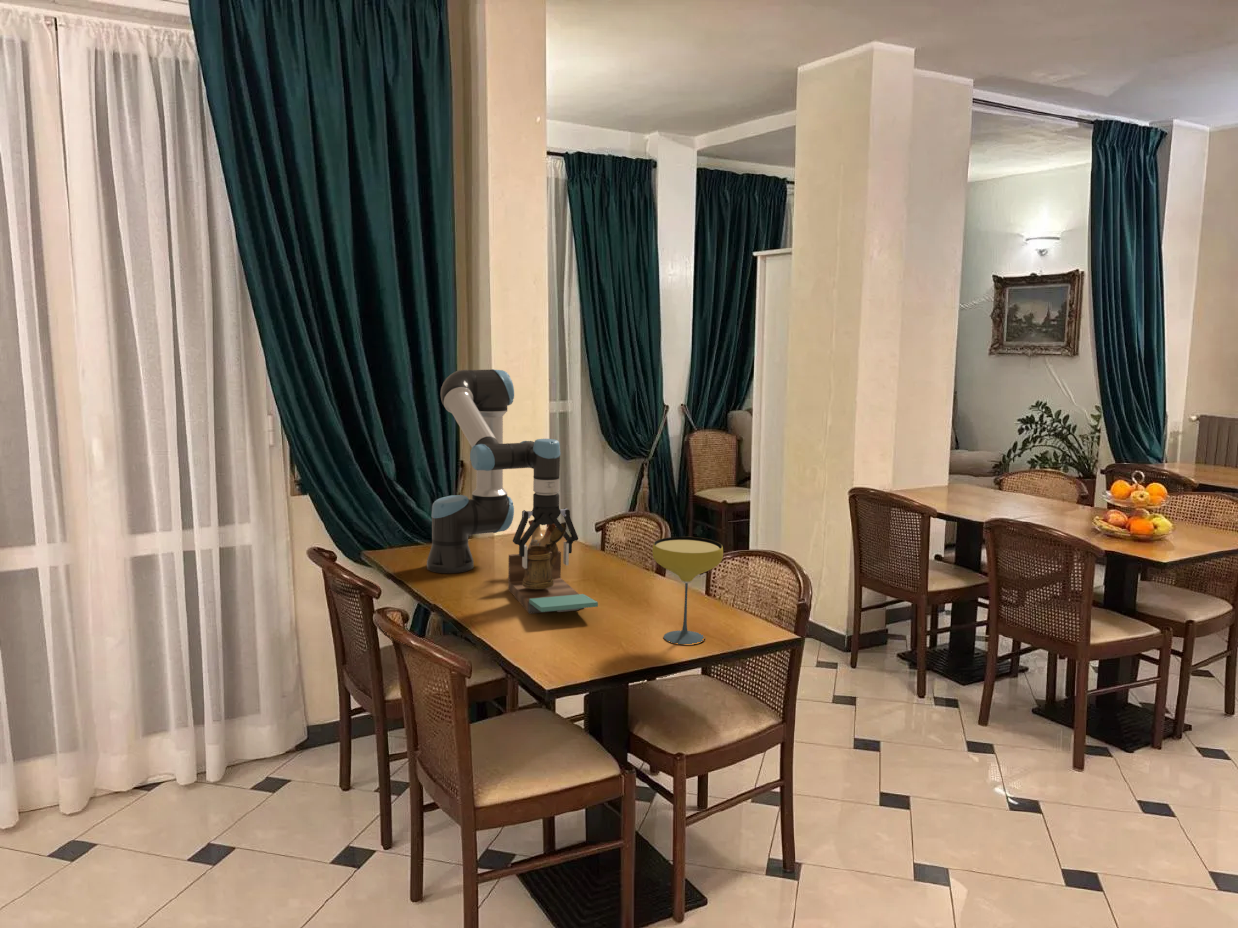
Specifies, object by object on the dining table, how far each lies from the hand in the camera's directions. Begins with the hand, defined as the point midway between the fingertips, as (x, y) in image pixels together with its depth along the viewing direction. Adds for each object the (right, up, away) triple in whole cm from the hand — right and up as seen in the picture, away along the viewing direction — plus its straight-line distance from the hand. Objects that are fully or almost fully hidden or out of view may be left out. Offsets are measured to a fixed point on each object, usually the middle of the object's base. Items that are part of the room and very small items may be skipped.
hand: (545, 565), depth 265 cm
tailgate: (+4, -9, -10) cm, 14 cm away
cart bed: (-1, -10, +2) cm, 10 cm away
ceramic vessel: (-3, -6, +26) cm, 27 cm away
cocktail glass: (+38, -16, -29) cm, 51 cm away
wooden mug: (0, -6, +1) cm, 6 cm away
